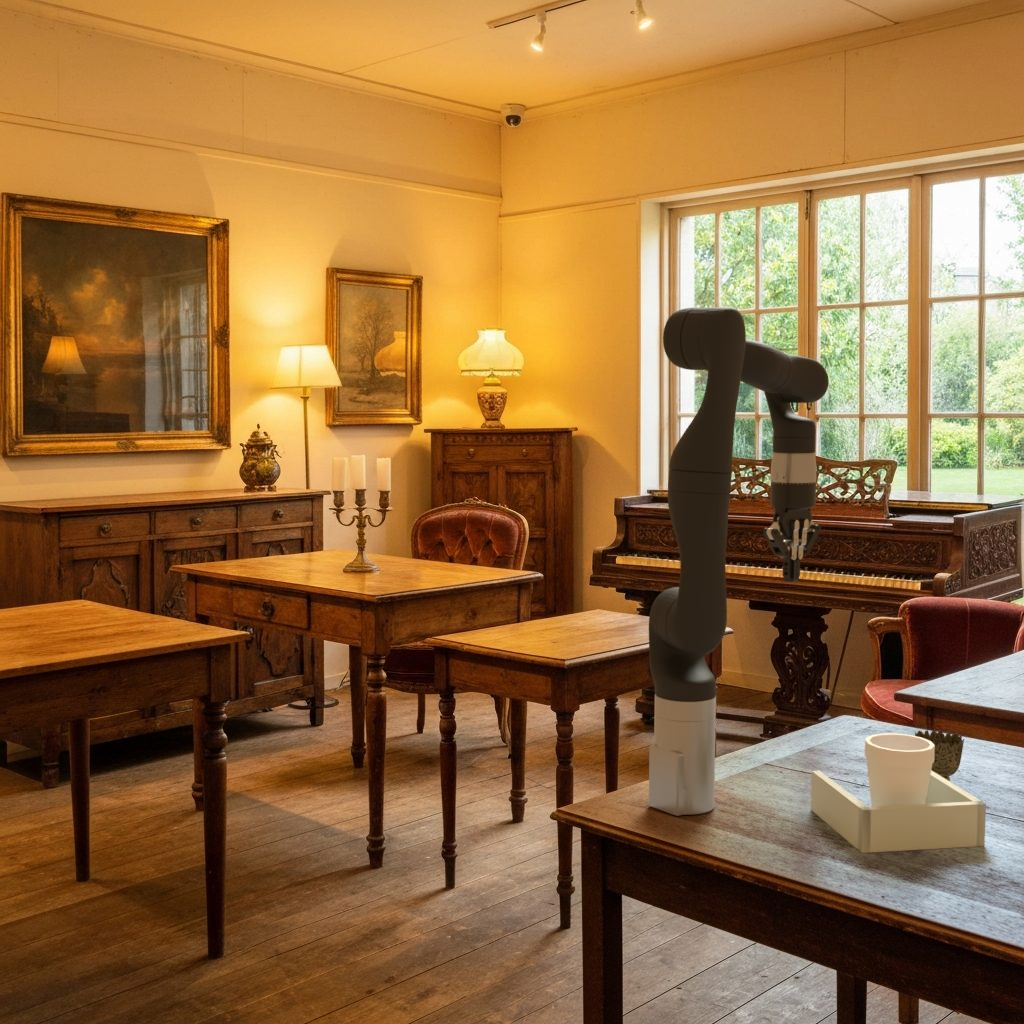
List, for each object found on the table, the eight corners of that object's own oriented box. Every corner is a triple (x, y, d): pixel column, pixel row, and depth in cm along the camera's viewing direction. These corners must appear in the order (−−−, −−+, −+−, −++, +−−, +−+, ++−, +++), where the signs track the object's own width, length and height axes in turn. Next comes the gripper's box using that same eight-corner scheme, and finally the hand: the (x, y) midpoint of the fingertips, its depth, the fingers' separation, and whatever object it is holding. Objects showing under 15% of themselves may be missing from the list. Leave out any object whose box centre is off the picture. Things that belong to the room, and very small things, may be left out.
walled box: (810, 809, 186) (811, 770, 185) (922, 803, 188) (923, 765, 188) (861, 852, 168) (862, 810, 167) (984, 845, 170) (985, 803, 170)
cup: (965, 792, 194) (967, 742, 193) (916, 789, 195) (918, 740, 194) (958, 778, 201) (960, 730, 200) (911, 775, 202) (912, 728, 202)
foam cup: (902, 847, 170) (904, 755, 169) (849, 827, 178) (851, 740, 176) (945, 833, 175) (948, 744, 174) (892, 815, 183) (894, 730, 182)
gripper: (785, 482, 200) (783, 587, 202) (835, 479, 209) (833, 580, 210) (750, 480, 206) (748, 582, 208) (800, 477, 214) (798, 575, 216)
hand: (791, 581), depth 209 cm, fingers closed
